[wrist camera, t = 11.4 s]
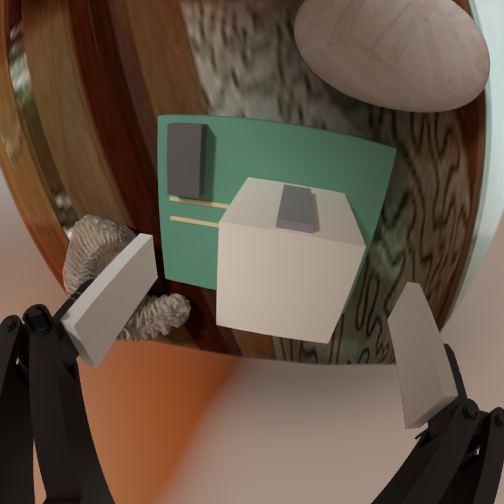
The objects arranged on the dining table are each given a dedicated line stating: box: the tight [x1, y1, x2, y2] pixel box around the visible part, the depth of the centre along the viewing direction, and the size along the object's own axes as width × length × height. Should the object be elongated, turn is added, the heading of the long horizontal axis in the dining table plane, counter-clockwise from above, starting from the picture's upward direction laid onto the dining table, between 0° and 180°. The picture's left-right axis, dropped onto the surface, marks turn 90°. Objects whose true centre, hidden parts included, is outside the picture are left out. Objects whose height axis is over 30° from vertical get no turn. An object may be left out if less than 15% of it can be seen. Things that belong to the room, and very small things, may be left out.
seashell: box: [63, 215, 191, 342], centre depth 23 cm, size 14×10×10 cm
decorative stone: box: [294, 0, 490, 112], centre depth 10 cm, size 13×9×5 cm
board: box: [158, 114, 397, 314], centre depth 18 cm, size 16×14×4 cm
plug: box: [216, 177, 366, 344], centre depth 16 cm, size 6×7×7 cm
